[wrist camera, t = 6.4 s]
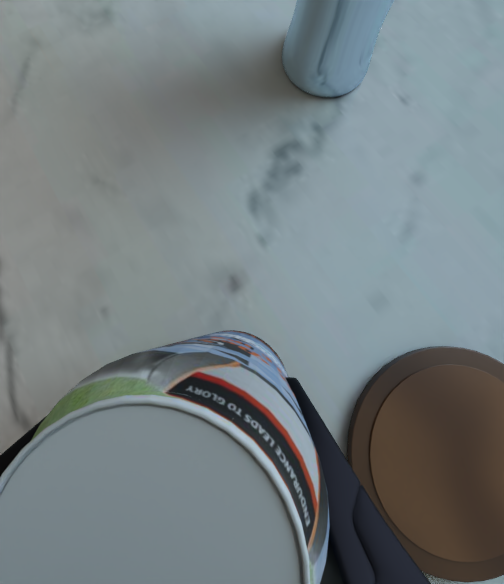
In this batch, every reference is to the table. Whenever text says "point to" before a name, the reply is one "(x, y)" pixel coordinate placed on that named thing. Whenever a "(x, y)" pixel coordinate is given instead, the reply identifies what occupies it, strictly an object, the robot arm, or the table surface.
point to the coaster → (436, 458)
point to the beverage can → (170, 475)
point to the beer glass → (332, 44)
